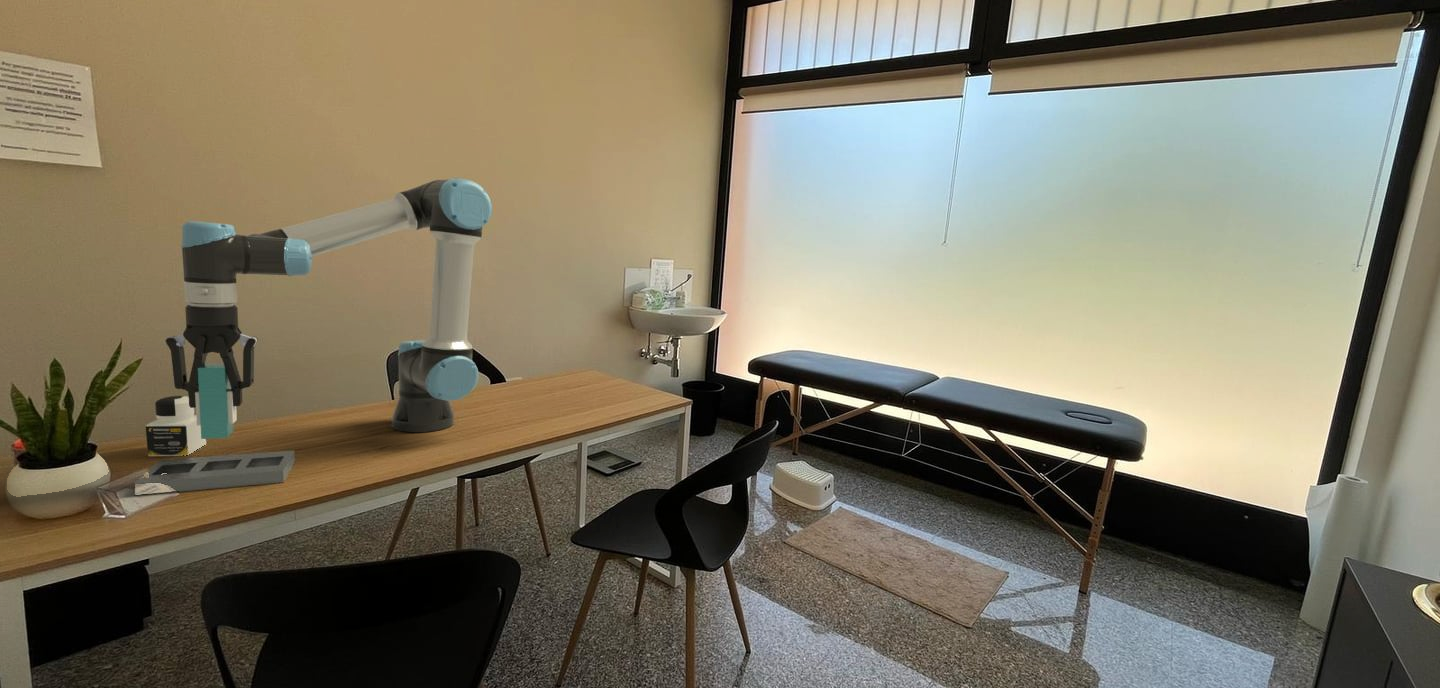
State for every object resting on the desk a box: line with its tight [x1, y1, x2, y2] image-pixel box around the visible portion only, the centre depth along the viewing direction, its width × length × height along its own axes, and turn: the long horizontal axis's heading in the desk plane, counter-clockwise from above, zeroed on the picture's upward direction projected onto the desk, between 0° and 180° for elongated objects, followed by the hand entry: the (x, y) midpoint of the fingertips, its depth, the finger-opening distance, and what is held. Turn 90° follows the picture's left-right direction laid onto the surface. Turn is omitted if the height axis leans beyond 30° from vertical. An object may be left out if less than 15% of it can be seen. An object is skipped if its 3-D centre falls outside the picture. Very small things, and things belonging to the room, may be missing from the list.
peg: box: [198, 363, 235, 440], centre depth 113 cm, size 4×4×14 cm
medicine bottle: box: [145, 395, 207, 457], centre depth 126 cm, size 7×7×12 cm
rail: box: [133, 450, 296, 493], centre depth 115 cm, size 22×12×2 cm, turn 117°
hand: (217, 422), depth 114 cm, fingers closed on peg, 4 cm apart
